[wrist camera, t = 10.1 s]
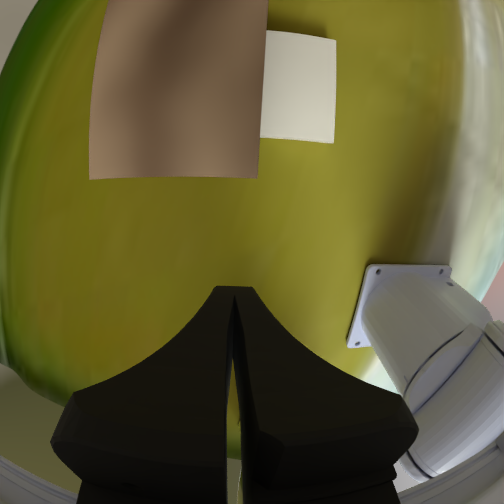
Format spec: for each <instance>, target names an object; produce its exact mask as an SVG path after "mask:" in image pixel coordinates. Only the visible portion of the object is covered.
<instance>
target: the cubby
mask: <svg viewBox="0 0 504 504" xmlns="http://www.w3.org/2000/svg"><path fill="white" fill-rule="evenodd" d="M267 15H268V0H109V2H108V5H107V9H106V13H105V17H104V21H103V26H102V30H101V35H100V40H99V45H98V51H97V57H96V63H95V70H94V78H93V87H92V97H91V110H90V129H89V177H90V179H105V178H125V177H163V176H198V177H236V178H257V175H258V159H259V143H260V127H261V111H262V95H263V79H264V63H265V47H266V31H267Z"/></svg>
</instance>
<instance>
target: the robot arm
mask: <svg viewBox="0 0 504 504" xmlns="http://www.w3.org/2000/svg"><path fill="white" fill-rule="evenodd" d="M378 269H379V272H377V273H376V271H377V270H378ZM440 270H441V271H440ZM451 271H452V268H451V267H450V266H449V265H399V264H371V265H369V266H368V267H367V269H366V272H365V276H364V280H363V284H362V288H361V292H360V296H359V300H358V304H357V307H356V311H355V315H354V318H353V322H352V325H351V328H350V332H349V335H348V338H347V341H346V344H347V346H348V348H357V347H367V346H372V347H373V349H374V351H375V352H376V354H377V356H378V357H379V359H380V361H381V363H382V364H383V366H384V368H385V369H386V371H387V373H388V375H389V376H390V378H391V380H392V382H393V383H394V385H395V387H396V389H397V391H398V392H399V394H400V395H399V394H396V393H393V392H391V391H388V390H385V389H382V388H379V387H377V386H374V385H371V384H369V383H366V382H364V381H362V380H360V379H358V378H356V377H354V376H352V375H349V374H347V373H345V372H344V371H342V370H340V369H338V368H336V367H335V366H333V365H331V364H330V363H328V362H327V361H325V360H323V359H322V358H320V357H319V356H317V355H316V354H315V353H313V352H312V351H310V350H309V349H308V348H306V347H305V346H304V345H303V344H302V343H300V342H299V341H298V340H297V339H295V338H294V337H293V336H292V335H291V334H290V333H289V332H288V331H287V330H286V329H285V328H284V327H283V326H282V325H281V324H280V323H279V321H278V320H277V319H276V318H275V317H274V316H273V314H272V313H271V312H270V311H269V310H268V308H267V307H266V306H265V304H264V303H263V302H262V300H261V299H260V297H259V296H258V294H257V293H256V291H255V290H254V288H253V287H241V286H216V287H215V288H214V289H213V291H212V292H211V294H210V296H209V297H208V299H207V300H206V301H205V303H204V304H203V306H202V307H201V308H200V309H199V311H198V312H197V313H196V314H195V316H194V317H193V318H192V319H191V320H190V321H189V322H188V323H187V324H186V325H185V327H184V328H183V329H182V330H181V331H180V332H179V333H178V334H177V335H176V336H174V337H173V338H172V339H171V340H170V341H169V342H168V343H166V344H165V345H164V346H163V347H162V348H160V349H159V350H158V351H156V352H155V353H153V354H152V355H150V356H149V357H147V358H146V359H145V360H143V361H142V362H140V363H138V364H137V365H135V366H133V367H131V368H130V369H128V370H126V371H124V372H122V373H120V374H118V375H116V376H114V377H112V378H110V379H107V380H105V381H103V382H100V383H98V384H95V385H93V386H90V387H87V388H85V389H82V390H79V391H76V392H74V393H73V394H72V396H71V398H70V399H69V401H68V403H67V404H66V406H65V408H64V411H63V413H62V415H61V417H60V420H59V422H58V424H57V426H56V429H55V431H54V433H53V436H52V438H51V441H50V443H51V446H52V448H53V450H54V452H55V453H56V455H57V456H58V457H59V458H60V460H61V461H62V462H63V463H64V464H65V465H67V467H69V468H70V469H71V470H72V471H73V472H74V473H75V474H76V475H77V476H78V477H79V478H80V479H81V480H82V483H81V487H80V491H79V494H76V493H74V492H71V491H69V490H66V489H64V488H61V487H59V486H57V485H54V484H52V483H50V482H48V481H46V480H44V479H42V478H40V477H38V476H36V475H33V474H32V473H30V472H28V471H26V470H24V469H22V468H21V467H19V466H17V465H15V464H14V463H12V462H10V461H9V460H7V459H5V458H4V457H2V456H1V455H0V504H228V497H227V404H228V395H229V386H230V377H231V368H232V359H233V362H234V370H235V379H236V386H237V394H238V402H239V410H240V430H241V462H242V494H243V504H504V323H502V322H501V321H500V320H497V321H493V319H492V316H491V315H490V312H489V311H488V310H487V309H486V307H485V306H484V305H483V304H481V303H480V302H479V301H478V300H477V299H475V298H474V297H473V296H472V295H471V294H469V293H468V292H467V291H466V290H465V289H463V288H462V287H461V286H460V285H458V284H457V283H456V282H455V281H453V280H452V279H451V278H450V275H451ZM356 342H357V343H356ZM398 460H399V462H400V464H401V466H402V467H403V469H404V470H405V472H406V473H407V474H408V475H409V476H410V477H411V478H413V479H414V480H415V481H417V482H419V483H421V484H418V485H416V486H414V487H411V488H409V489H407V490H404V491H402V492H399V493H397V492H396V489H395V486H394V484H393V481H392V480H394V479H395V478H396V476H397V473H396V471H395V468H394V466H393V465H394V464H395V463H396V461H398Z"/></svg>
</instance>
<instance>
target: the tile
mask: <svg viewBox="0 0 504 504" xmlns="http://www.w3.org/2000/svg"><path fill="white" fill-rule="evenodd" d="M335 104H336V40H332V39H327V38H322V37H316V36H310V35H304V34H297V33H289V32H280V31H270V30H267V31H266V47H265V63H264V79H263V95H262V111H261V127H260V138H277V139H291V140H302V141H312V142H321V143H334V127H335Z"/></svg>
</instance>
